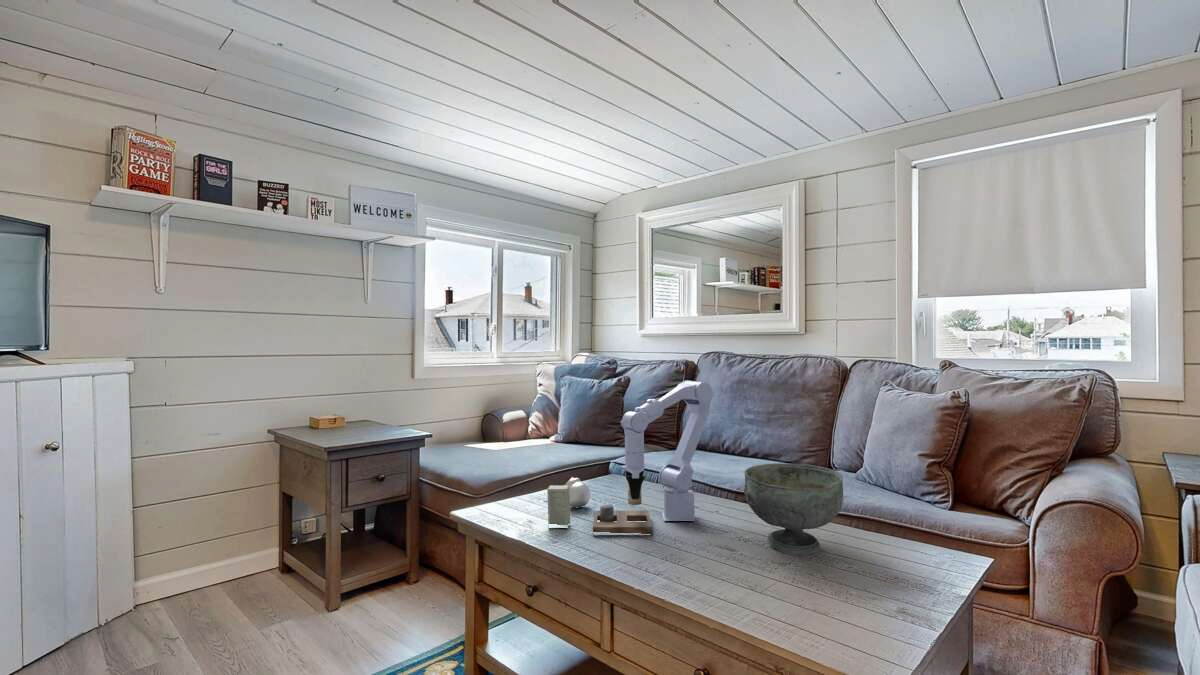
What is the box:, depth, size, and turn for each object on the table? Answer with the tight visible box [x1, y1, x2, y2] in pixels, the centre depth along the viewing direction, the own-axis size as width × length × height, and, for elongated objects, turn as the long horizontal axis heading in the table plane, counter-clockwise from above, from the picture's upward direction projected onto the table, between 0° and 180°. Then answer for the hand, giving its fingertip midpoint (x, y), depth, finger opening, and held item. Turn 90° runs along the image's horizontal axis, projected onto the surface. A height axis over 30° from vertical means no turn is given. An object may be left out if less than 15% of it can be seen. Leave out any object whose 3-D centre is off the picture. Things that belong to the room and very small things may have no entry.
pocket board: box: [592, 504, 653, 535], centre depth 172 cm, size 17×16×6 cm
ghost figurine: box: [564, 477, 591, 508], centre depth 192 cm, size 9×10×10 cm
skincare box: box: [546, 484, 571, 525], centre depth 173 cm, size 6×4×12 cm
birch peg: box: [627, 483, 643, 506], centre depth 172 cm, size 4×4×6 cm
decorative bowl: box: [743, 462, 844, 556], centre depth 154 cm, size 26×26×20 cm
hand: (634, 496), depth 172 cm, fingers closed on birch peg, 4 cm apart
